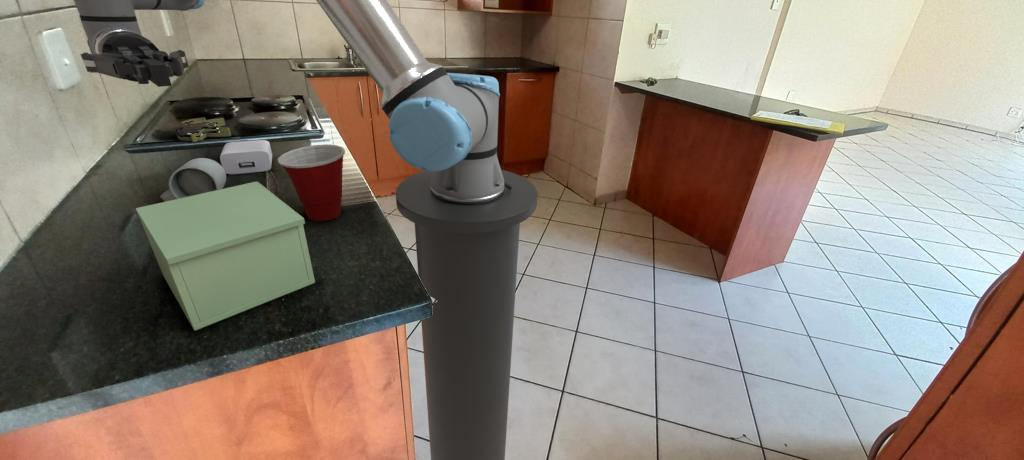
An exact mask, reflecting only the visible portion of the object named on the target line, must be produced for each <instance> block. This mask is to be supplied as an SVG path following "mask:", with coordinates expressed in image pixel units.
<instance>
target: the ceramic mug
mask: <svg viewBox="0 0 1024 460" xmlns="http://www.w3.org/2000/svg"><path fill="white" fill-rule="evenodd" d="M168 179H169V180H168V189H167V190H165V191H164V192H163V193H162V194H161V195H160V196H159V197H160V199H161V200H162V202H166V201H171V200H175V199H180V198H184V197H189V196H193V195H198V194H202V193H207V192H211V191H216V190H220V189H224V188H225V185H226V183H227V173H225V170H224V169H223V167H222V164H221V163H219V162H218V161H216V160H214V159H211V158H207V157H198V158H193V159H191V160H188V161H187V162H185V164H183V165H182V166H180V167H178V168H177V169H176V170H174V171H173V172H172V174H170V176H169V178H168Z"/></svg>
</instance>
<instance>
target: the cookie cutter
mask: <svg viewBox="0 0 1024 460" xmlns="http://www.w3.org/2000/svg"><path fill="white" fill-rule="evenodd" d="M190 121H194V122H191V123H190V124H196V123H202V122H209V123H213V122H217V123H218V124H216V125H217V126H218V127H216V128H219V129H208V128H203V129H201V131H200V132H199V133H194V134H191V133H190V136H191V137H180V136H178V135H177V134H176V136H177V138H178V140H179V141H184V142H192V143H197V142H199V141H203V140H205V138H207V137H208V138H209V137H210V138H214V137H215V138H216V137H217V138H219V137H221V138H223V137H231V136H232V132H231V129H230V127H225V126H226V122H225V118H224V117H217V118H211V119H206V117H197V118H196V117H195V118H190V119H186V120H183V121H181V125H182V124H183V123H185V122H190ZM209 123H207V124H205V126H206V127H207V126H208V127H212V126H209V125H208V124H209ZM183 125H187V124H183ZM183 125H182V126H183ZM191 126H192V125H191ZM203 126H204V125H203ZM204 130H209V131H217V130H218V131H220V133H205V134H203V135H202V136H200V137H196V136H199V135H201V134H202V131H204Z"/></svg>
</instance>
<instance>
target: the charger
mask: <svg viewBox="0 0 1024 460" xmlns="http://www.w3.org/2000/svg"><path fill="white" fill-rule="evenodd" d="M219 160H220V165H221V166H222V167H223V169H224V170H225V173H226V175H227V174H228V175H240V174H250V173H251V174H252V173H260V172H261V173H263V172H268V171H270V170H271V169H272V161H273V152H272V148H271V144H270V141H268V140H265V139H256V140H242V141H241V140H240V141H230V142H227V143H225V144H224V146H223V148H222V150H221V153H220V156H219Z"/></svg>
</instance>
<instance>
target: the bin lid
mask: <svg viewBox="0 0 1024 460" xmlns="http://www.w3.org/2000/svg"><path fill="white" fill-rule="evenodd" d="M135 211H136V213H137V216H138V215H139V216H138V218H139V217H140V218H141V220H142V222H143V223H144V225H145V227H146V228H147V230H148V232H149V233H150V235H151V237H152V238H153V240H154V242H155V243H156V245H157V247H158V248H159V250H160V252H161V253H162V255H163V257H164V258H165V260H166V262H167V263H168V265H170V264H173V263H177V262H180V261H183V260H187V259H190V258H193V257H197V256H200V255H203V254H206V253H210V252H213V251H216V250H220V249H223V248H226V247H230V246H233V245H236V244H239V243H243V242H246V241H249V240H253V239H256V238H259V237H263V236H266V235H269V234H272V233H276V232H279V231H282V230H286V229H289V228H292V227H296V226H299V225H302V224H303V225H305V224H306V221H305V218H304V217H303V216H302V215H300V214H299V213H298V212H297V211H295V210H294V208H292V207H290V206H289V205H288V204H287V203H285V202H284V201H283V200H281V199H280V198H279V197H278V196H277V195H275V194H274V193H273V192H272V191H270V190H269V189H268V188H266V187H265V186H264V185H263V184H261V183H260V182H259V181H252V182H248V183H244V184H239V185H234V186H229V187H224V188H222V189H220V190H216V191H211V192H207V193H202V194H198V195H193V196H189V197H184V198H180V199H175V200H171V201H166V202H164V201H162V202H158V203H153V204H148V205H144V206H140V207H136V208H135ZM140 218H139V219H140Z"/></svg>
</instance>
